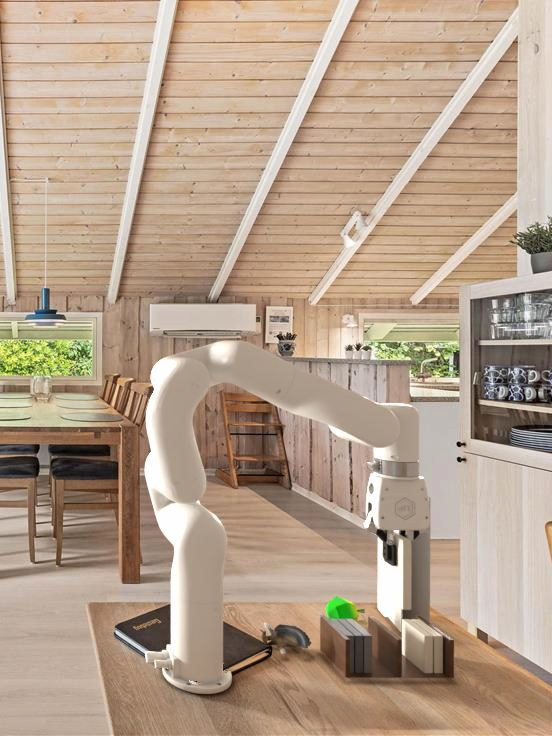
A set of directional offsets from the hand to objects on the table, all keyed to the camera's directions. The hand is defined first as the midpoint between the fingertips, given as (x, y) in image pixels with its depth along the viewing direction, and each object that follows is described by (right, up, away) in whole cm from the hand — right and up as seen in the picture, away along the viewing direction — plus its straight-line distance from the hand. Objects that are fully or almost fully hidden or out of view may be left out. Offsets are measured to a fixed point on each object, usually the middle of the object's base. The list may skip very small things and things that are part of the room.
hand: (396, 562), depth 120 cm
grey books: (-9, -19, 0) cm, 21 cm away
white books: (+5, -19, 0) cm, 20 cm away
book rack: (-2, -20, 0) cm, 20 cm away
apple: (0, -21, +18) cm, 27 cm away
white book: (0, -8, 0) cm, 8 cm away
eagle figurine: (-19, -21, +5) cm, 29 cm away
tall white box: (+13, -21, +19) cm, 31 cm away
